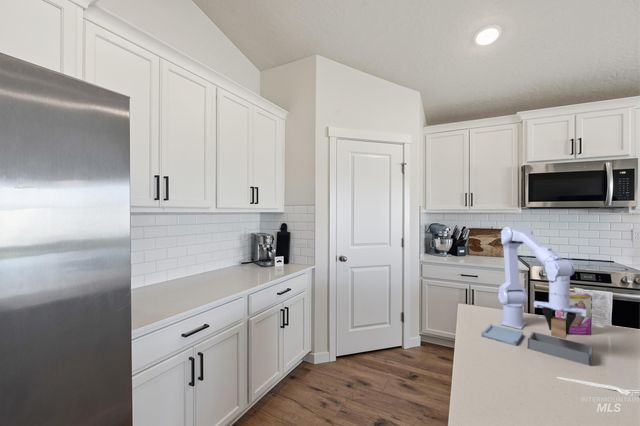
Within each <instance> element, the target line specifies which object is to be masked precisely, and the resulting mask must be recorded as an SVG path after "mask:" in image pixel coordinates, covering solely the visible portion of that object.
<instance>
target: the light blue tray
mask: <svg viewBox="0 0 640 426" xmlns="http://www.w3.org/2000/svg"><path fill="white" fill-rule="evenodd" d="M481 337H484V338H486V339H490V340H494V341H497V342H501V343H505V344H509V345H512V346H515V347H517V346H518V345H519V343H520V341H521V340H522V339H523V337H524V332H522V331H519V330H514V329H510V328H505V327H502V326H498V325H493V324H489V325H488V326H487V327H486V328H484V329H483V330H482V332H481Z"/></svg>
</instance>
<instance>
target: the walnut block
mask: <svg viewBox="0 0 640 426" xmlns="http://www.w3.org/2000/svg"><path fill="white" fill-rule="evenodd" d="M566 325H567V324H566V319H565V318H560V317H555V315H552V318H551V330H550V331H551V332H550V336H552V337H557V338H561V339H565V340H567V337H568V334H566Z"/></svg>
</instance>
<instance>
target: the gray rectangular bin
mask: <svg viewBox="0 0 640 426" xmlns="http://www.w3.org/2000/svg"><path fill="white" fill-rule="evenodd" d="M527 349H529V350H531V351H535V352H538V353H542V354H547V355H551V356H554V357H558V358H561V359H564V360H568V361H571V362H575V363H579V364H582V365H587V366H589V367H591V366H592V362H593V354H594V353H593V352H594V351H593V349H594V347H593V345H589V344H585V343H581V342H576V341H573V340H569V339H564V338H559V337H555V336H551V335H547V334H543V333H540V332H534V331H531V333H530V335H529V336H528V337H527Z"/></svg>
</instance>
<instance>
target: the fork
mask: <svg viewBox="0 0 640 426" xmlns="http://www.w3.org/2000/svg"><path fill="white" fill-rule="evenodd" d="M556 378H557V379H560V380H564V381H568V382H572V383H578V384H583V385H587V386H591V387H595V388H602V389H607V390H613V391H617V392H619V393H620V394H623V395H626V396H629V395H628V394H629V393H631V392H629V391H639V390H640V389H635V390H634V389H624V388H621V387H618V386H614V385H610V384H604V383H603V384H602V383H598V382H597V383H596V382H590V381H585V380H577V379H572V378H566V377H562V376H561V377H560V376H556ZM632 393H633V392H632ZM634 393H639V392H634Z"/></svg>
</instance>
